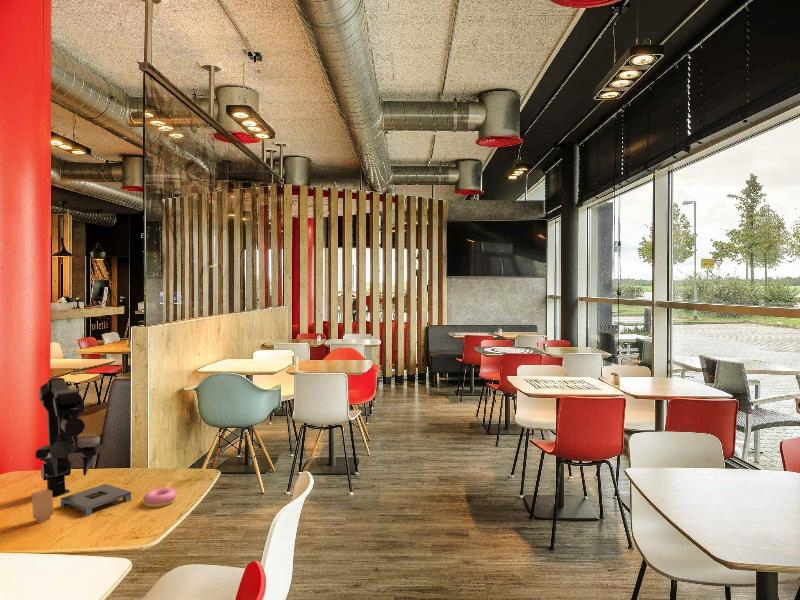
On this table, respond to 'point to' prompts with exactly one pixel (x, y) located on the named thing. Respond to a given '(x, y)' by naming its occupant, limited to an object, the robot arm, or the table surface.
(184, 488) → the table surface
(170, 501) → the doughnut
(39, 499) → the square wooden peg
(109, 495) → the slotted plate
